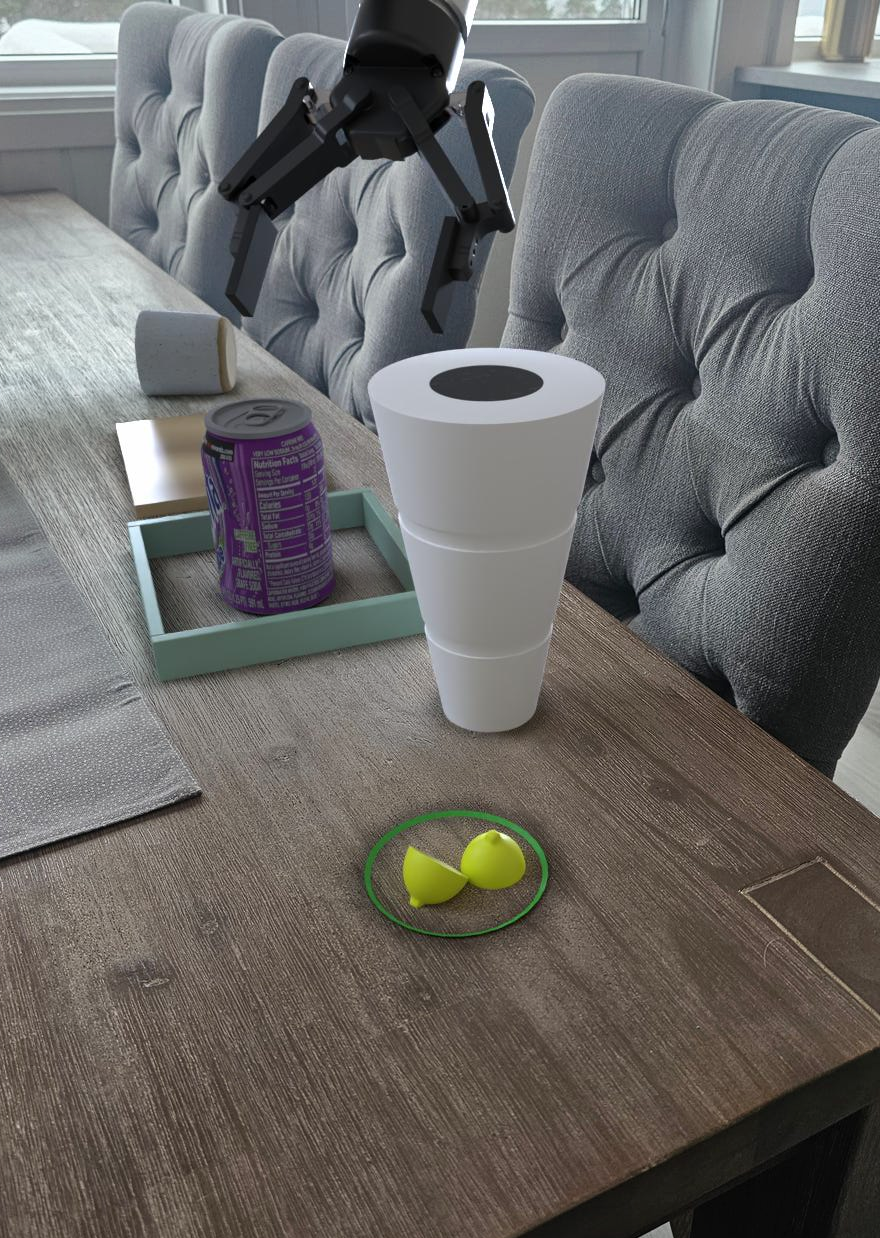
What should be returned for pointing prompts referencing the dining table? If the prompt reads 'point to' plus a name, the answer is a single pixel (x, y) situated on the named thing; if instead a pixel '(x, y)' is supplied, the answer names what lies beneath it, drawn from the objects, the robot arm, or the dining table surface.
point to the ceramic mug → (185, 353)
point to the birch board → (165, 464)
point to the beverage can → (268, 505)
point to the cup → (487, 511)
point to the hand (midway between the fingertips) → (332, 314)
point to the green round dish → (482, 865)
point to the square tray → (281, 631)
